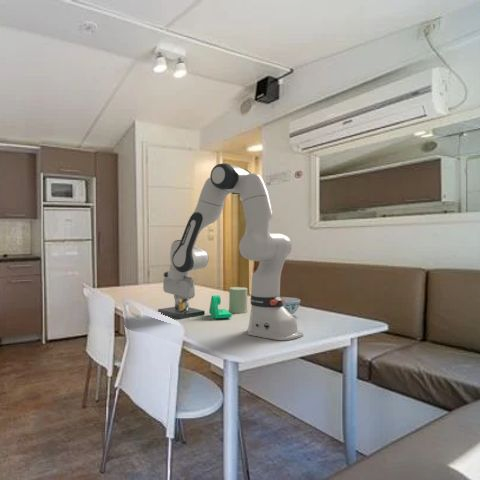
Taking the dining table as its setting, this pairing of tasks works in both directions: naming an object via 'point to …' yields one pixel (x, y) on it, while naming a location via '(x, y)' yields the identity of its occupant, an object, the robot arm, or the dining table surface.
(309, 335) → the dining table surface
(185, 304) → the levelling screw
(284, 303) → the chinaware
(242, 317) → the dining table surface
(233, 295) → the can
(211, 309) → the camera mount
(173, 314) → the base
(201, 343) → the dining table surface
